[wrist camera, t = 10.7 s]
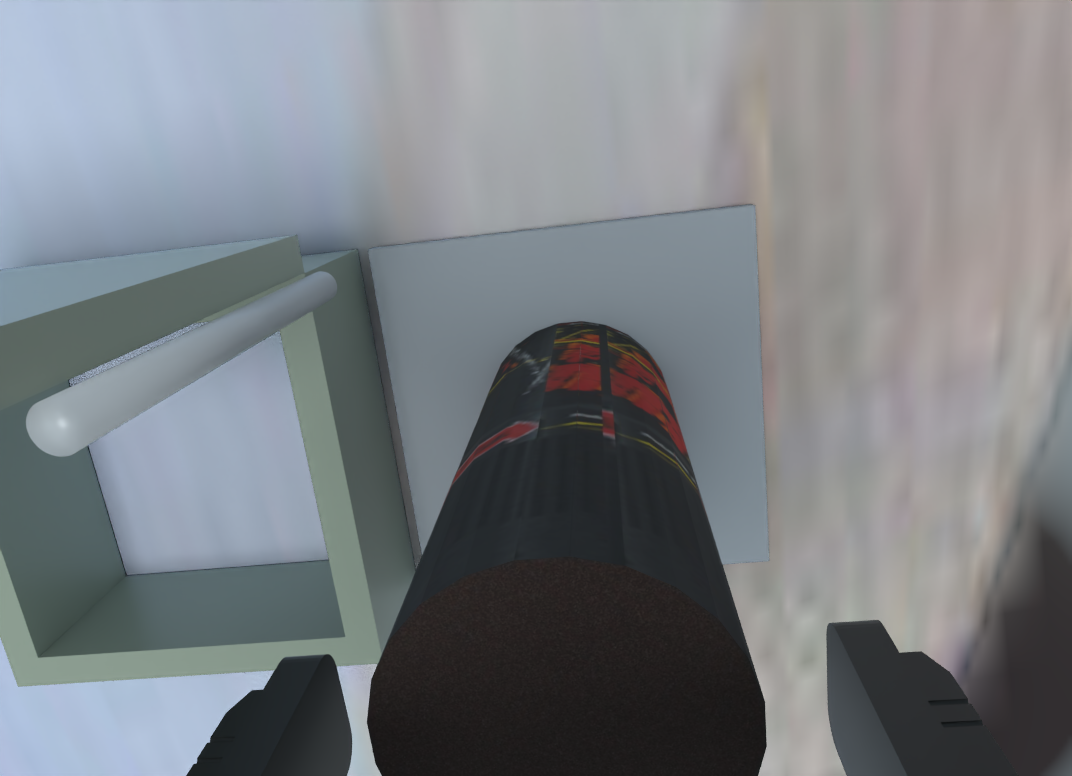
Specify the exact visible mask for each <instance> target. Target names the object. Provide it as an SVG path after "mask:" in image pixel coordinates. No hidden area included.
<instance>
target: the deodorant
mask: <svg viewBox="0 0 1072 776" xmlns="http://www.w3.org/2000/svg"><path fill="white" fill-rule="evenodd" d="M367 725H368V729H369V734H370V739H371V744H372V748H373V753H374V758H375V763H376V765H377V767H378V769H379V771H380V773H381V775H382V776H758V774H759V770H760V767H761V764H762V760H763V757H764V753H765V750H766V747H767V746H766V720H765V701H764V698H763V695H762V691H761V688H760V685H759V682H758V678H757V675H756V672H755V669H754V665H753V662H752V659H751V656H750V652H749V649H748V646H747V643H746V640H745V636H744V633H743V630H742V627H741V623H740V620H739V617H738V614H737V610H736V607H735V604H734V601H733V597H732V594H731V591H730V588H729V584H728V581H727V578H726V575H725V572H724V568H723V565H722V562H721V559H720V555H719V552H718V549H717V546H716V542H715V539H714V536H713V533H712V529H711V526H710V523H709V520H708V516H707V513H706V510H705V507H704V504H703V500H702V497H701V494H700V491H699V487H698V484H697V481H696V478H695V474H694V471H693V468H692V465H691V461H690V458H689V455H688V452H687V449H686V445H685V442H684V439H683V436H682V432H681V429H680V426H679V423H678V419H677V416H676V413H675V410H674V406H673V403H672V400H671V397H670V393H669V390H668V387H667V385H666V382H665V379H664V376H663V374H662V371H661V369H660V367H659V366H658V364H657V363H656V362H655V360H654V359H653V357H652V356H651V355H650V353H649V352H648V350H647V349H645V348H644V347H643V346H642V345H641V344H639V343H638V342H637V341H635V340H634V339H633V338H632V337H630V336H629V335H628V334H625V333H623V332H621V331H619V330H616V329H614V328H612V327H610V326H607V325H603V324H597V323H591V322H585V321H578V322H568V323H558V324H555V325H552V326H550V327H547V328H544V329H541V330H539V331H536V332H534V333H533V334H531V335H530V336H529V337H527V338H526V339H524V340H523V341H522V342H520V343H519V344H517V345H516V346H515V347H514V348H513V350H512V351H511V352H510V353H509V355H508V356H507V357H506V358H505V359H504V361H503V362H502V363H501V365H500V367H499V370H498V372H497V374H496V376H495V379H494V381H493V383H492V385H491V388H490V390H489V393H488V395H487V398H486V400H485V403H484V405H483V408H482V410H481V412H480V415H479V417H478V420H477V422H476V425H475V427H474V430H473V432H472V434H471V437H470V439H469V442H468V444H467V447H466V449H465V452H464V454H463V457H462V459H461V461H460V464H459V466H458V469H457V471H456V474H455V476H454V479H453V481H452V484H451V486H450V488H449V491H448V493H447V496H446V498H445V501H444V503H443V506H442V508H441V510H440V513H439V515H438V518H437V520H436V523H435V525H434V528H433V530H432V533H431V535H430V537H429V540H428V542H427V545H426V547H425V550H424V552H423V555H422V557H421V559H420V562H419V564H418V567H417V569H416V572H415V574H414V577H413V579H412V582H411V584H410V586H409V589H408V591H407V594H406V596H405V599H404V601H403V604H402V606H401V609H400V611H399V613H398V616H397V618H396V621H395V623H394V626H393V628H392V631H391V633H390V635H389V638H388V640H387V643H386V645H385V648H384V650H383V653H382V655H381V658H380V660H379V662H378V665H377V667H376V670H375V672H374V675H373V677H372V680H371V689H370V698H369V708H368V718H367Z"/></svg>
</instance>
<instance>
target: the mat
mask: <svg viewBox="0 0 1072 776" xmlns="http://www.w3.org/2000/svg"><path fill="white" fill-rule="evenodd" d="M368 255H369V261H370V266H371V272H372V278H373V283H374V289H375V295H376V300H377V306H378V311H379V317H380V323H381V328H382V334H383V340H384V345H385V351H386V356H387V362H388V368H389V373H390V379H391V385H392V390H393V396H394V401H395V407H396V413H397V418H398V424H399V430H400V435H401V441H402V447H403V452H404V458H405V463H406V469H407V475H408V480H409V486H410V492H411V497H412V503H413V508H414V514H415V520H416V525H417V531H418V537H419V542H420V548H421V553H422V555H423V552H424V550H425V547H426V545H427V542H428V540H429V537H430V535H431V533H432V530H433V528H434V525H435V523H436V520H437V518H438V515H439V513H440V510H441V508H442V506H443V503H444V501H445V498H446V496H447V493H448V491H449V488H450V486H451V484H452V481H453V479H454V476H455V474H456V471H457V469H458V466H459V464H460V461H461V459H462V457H463V454H464V452H465V449H466V447H467V444H468V442H469V439H470V437H471V434H472V432H473V430H474V427H475V425H476V422H477V420H478V417H479V415H480V412H481V410H482V408H483V405H484V403H485V400H486V398H487V395H488V393H489V390H490V388H491V385H492V383H493V381H494V379H495V376H496V374H497V372H498V370H499V367H500V365H501V363H502V362H503V361H504V359H505V358H506V357H507V356H508V355H509V353H510V352H511V351H512V350H513V348H514V347H515V346H516V345H517V344H519V343H520V342H522V341H523V340H524V339H526V338H527V337H529V336H530V335H531V334H533V333H534V332H536V331H539V330H541V329H544V328H547V327H550V326H552V325H555V324H558V323H568V322H578V321H585V322H591V323H597V324H603V325H607V326H610V327H612V328H614V329H616V330H619V331H621V332H623V333H625V334H628V335H629V336H630V337H632V338H633V339H634V340H635V341H637V342H638V343H639V344H641V345H642V346H643V347H644V348H645V349H647V350H648V352H649V353H650V355H651V356H652V357H653V359H654V360H655V362H656V363H657V364H658V366H659V367H660V369H661V371H662V374H663V376H664V379H665V382H666V385H667V387H668V390H669V393H670V397H671V400H672V403H673V406H674V410H675V413H676V416H677V419H678V423H679V426H680V429H681V432H682V436H683V439H684V442H685V445H686V449H687V452H688V455H689V458H690V461H691V465H692V468H693V471H694V474H695V478H696V481H697V484H698V487H699V491H700V494H701V497H702V500H703V504H704V507H705V510H706V513H707V516H708V520H709V523H710V526H711V529H712V533H713V536H714V539H715V542H716V546H717V549H718V552H719V555H720V559H721V562H722V564H735V563H749V562H763V561H769V542H768V517H767V491H766V466H765V441H764V415H763V390H762V365H761V339H760V314H759V289H758V263H757V238H756V213H755V205H752V204H748V205H739V206H731V207H722V208H713V209H704V210H696V211H687V212H678V213H670V214H661V215H652V216H643V217H635V218H626V219H617V220H609V221H600V222H591V223H582V224H574V225H565V226H556V227H548V228H539V229H530V230H521V231H513V232H504V233H495V234H487V235H478V236H469V237H460V238H452V239H443V240H434V241H426V242H417V243H408V244H399V245H391V246H382V247H373V248H371V249H368Z"/></svg>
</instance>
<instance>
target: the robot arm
mask: <svg viewBox="0 0 1072 776" xmlns="http://www.w3.org/2000/svg"><path fill="white" fill-rule="evenodd" d="M827 692H828V714H829V721H830V727H831V732H832V736H833V740H834V743H835V746H836V749H837V752H838V755H839V757H840V760H841V762H842V765H843V767H844V770H845V772H846V775H847V776H1019V775H1018V774H1017V773H1016V771H1015V769H1014V768H1013V766H1012V765H1011V763H1010V762H1009V760H1008V759H1007V757H1006V756H1005V754H1004V753H1003V751H1002V750H1001V748H1000V747H999V745H998V744H997V742H996V741H995V739H994V738H993V736H992V735H991V733H990V732H989V730H988V729H987V727H986V726H983V724H982V720H981V718H980V717H979V715H978V714H977V712H976V711H975V709H974V708H973V706H972V704H969V703H968V698H967V697H966V695H965V694H964V692H963V691H962V689H961V688H960V686H959V685H958V683H957V682H956V680H955V679H954V677H953V676H952V674H951V673H950V672H949V671H947V670H946V669H945V668H943V667H942V666H941V665H939V664H938V663H936V662H935V661H934V660H932V659H931V658H930V657H928V656H927V655H926V654H924V653H923V652H904V653H899V651H898V650H897V648H896V646H895V645H894V643H893V641H892V639H891V638H890V636H889V634H888V633H887V631H886V629H885V628H884V626H883V624H882V623H881V622H880V621H879V620H870V621H855V622H839V623H829V624H828V626H827ZM351 755H352V734H351V728H350V723H349V719H348V715H347V710H346V706H345V702H344V697H343V693H342V689H341V684H340V680H339V676H338V671H337V667H336V664H335V661H334V659H333V657H332V656H331V655H329V654H323V655H307V656H292V657H285V658H283V659H282V660H281V661H280V662H279V664H278V666H277V667H276V669H275V671H274V672H273V674H272V676H271V678H270V679H269V681H268V683H267V684H266V686H265V688H264V689H263V690H252V691H251V692H250V693H248V694H247V695H246V696H245V697H244V698H243V699H242V700H240V701H239V702H238V703H237V704H236V705H235V706H234V707H232V708H231V709H230V710H229V711H228V712H227V713H226V714H225V716H224V717H223V719H222V720H221V722H220V723H219V725H218V727H217V728H216V730H215V731H214V733H213V735H212V736H211V738H210V743H207V744H206V746H205V747H204V749H203V750H202V752H201V753H200V755H199V757H198V758H197V764H193V766H192V768H191V769H190V771H189V772H188V774H187V776H347V773H348V770H349V767H350V762H351Z"/></svg>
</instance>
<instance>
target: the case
mask: <svg viewBox="0 0 1072 776" xmlns="http://www.w3.org/2000/svg"><path fill="white" fill-rule="evenodd" d="M209 321H211V322H209ZM200 322H208V323H206V324H204V325H202V326H200V327H198V328H196V329H193V330H191V331H189V332H187V333H185V334H183V335H181V336H178V337H176V338H174V339H172V340H170V341H168V342H166V343H163V344H161V345H159V346H157V347H155V348H153V349H151V350H148V351H146V352H144V353H142V354H140V355H138V356H136V357H133V358H131V359H129V360H127V361H125V362H123V363H121V364H118V365H116V366H114V367H112V368H110V369H108V370H106V371H104V372H101V373H99V374H97V375H95V376H93V377H91V378H89V379H86V380H84V381H82V382H80V383H78V384H76V385H74V386H71V387H70V386H69V383H68V380H69V379H71V378H73V377H76V376H78V375H80V374H82V373H85V372H87V371H89V370H91V369H93V368H96V367H98V366H100V365H102V364H104V363H107V362H109V361H111V360H113V359H116V358H118V357H120V356H122V355H124V354H127V353H129V352H131V351H133V350H136V349H138V348H140V347H142V346H144V345H147V344H149V343H151V342H153V341H155V340H158V339H160V338H162V337H164V336H167V335H169V334H171V333H173V332H175V331H178V330H180V329H182V328H184V327H186V326H189V325H191V324H193V323H200ZM279 330H280V335H281V339H282V344H283V349H284V353H285V358H286V363H287V367H288V372H289V377H290V381H291V386H292V390H293V395H294V400H295V404H296V409H297V414H298V418H299V423H300V428H301V432H302V437H303V442H304V446H305V451H306V456H307V460H308V465H309V469H310V474H311V479H312V483H313V488H314V493H315V497H316V502H317V507H318V511H319V516H320V521H321V525H322V530H323V535H324V539H325V544H326V549H327V553H328V558H329V560H325V561H312V562H299V563H286V564H273V565H260V566H247V567H234V568H221V569H208V570H195V571H182V572H169V573H156V574H143V575H130V576H126V574H125V571H124V567H123V564H122V560H121V557H120V554H119V550H118V547H117V544H116V540H115V537H114V534H113V530H112V527H111V524H110V520H109V517H108V513H107V510H106V507H105V503H104V500H103V497H102V493H101V490H100V487H99V483H98V480H97V477H96V473H95V470H94V466H93V463H92V460H91V456H90V453H89V450H88V445H89V444H91V443H93V442H94V441H96V440H98V439H99V438H101V437H103V436H104V435H106V434H108V433H109V432H111V431H113V430H114V429H116V428H118V427H119V426H121V425H123V424H124V423H126V422H128V421H129V420H131V419H133V418H134V417H136V416H138V415H139V414H141V413H143V412H144V411H146V410H148V409H149V408H151V407H153V406H154V405H156V404H158V403H159V402H161V401H163V400H164V399H166V398H168V397H169V396H171V395H173V394H174V393H176V392H178V391H179V390H181V389H183V388H184V387H186V386H188V385H189V384H191V383H193V382H194V381H196V380H198V379H199V378H201V377H203V376H204V375H206V374H208V373H209V372H211V371H213V370H214V369H216V368H218V367H219V366H221V365H223V364H224V363H226V362H228V361H229V360H231V359H233V358H234V357H236V356H238V355H239V354H241V353H243V352H244V351H246V350H248V349H249V348H251V347H253V346H254V345H256V344H258V343H259V342H261V341H263V340H264V339H266V338H268V337H269V336H271V335H273V334H274V333H276V332H278V331H279ZM415 572H416V570H415V564H414V559H413V553H412V548H411V542H410V536H409V531H408V525H407V520H406V514H405V509H404V503H403V498H402V492H401V487H400V481H399V476H398V470H397V465H396V459H395V454H394V448H393V443H392V437H391V432H390V426H389V421H388V415H387V410H386V404H385V399H384V393H383V388H382V382H381V376H380V371H379V365H378V360H377V354H376V349H375V343H374V338H373V332H372V327H371V321H370V316H369V310H368V305H367V299H366V294H365V288H364V283H363V277H362V272H361V266H360V261H359V255H358V250H357V249H356V250H347V251H338V252H330V253H321V254H312V255H303V256H301V252H300V248H299V243H298V238H297V235H291V236H283V237H274V238H266V239H257V240H249V241H240V242H232V243H223V244H215V245H206V246H197V247H189V248H180V249H172V250H163V251H155V252H146V253H138V254H129V255H121V256H112V257H104V258H95V259H87V260H78V261H70V262H61V263H53V264H44V265H36V266H27V267H19V268H10V269H2V270H0V637H1V640H2V643H3V646H4V649H5V651H6V654H7V657H8V660H9V663H10V665H11V668H12V671H13V674H14V677H15V679H16V682H17V685H18V687H20V686H36V685H51V684H67V683H83V682H98V681H114V680H130V679H145V678H161V677H177V676H192V675H208V674H224V673H239V672H255V671H271V670H275V669H276V667H277V666H278V664H279V662H280V661H281V660H282V659H283V658H285V657H292V656H307V655H323V654H329V655H331V656H332V657H333V659H334V661H335V664H336V666H349V665H365V664H378V662H379V660H380V658H381V655H382V653H383V650H384V648H385V645H386V643H387V640H388V638H389V635H390V633H391V631H392V628H393V626H394V623H395V621H396V618H397V616H398V613H399V611H400V609H401V606H402V604H403V601H404V599H405V596H406V594H407V591H408V589H409V586H410V584H411V582H412V579H413V577H414V574H415Z"/></svg>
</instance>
